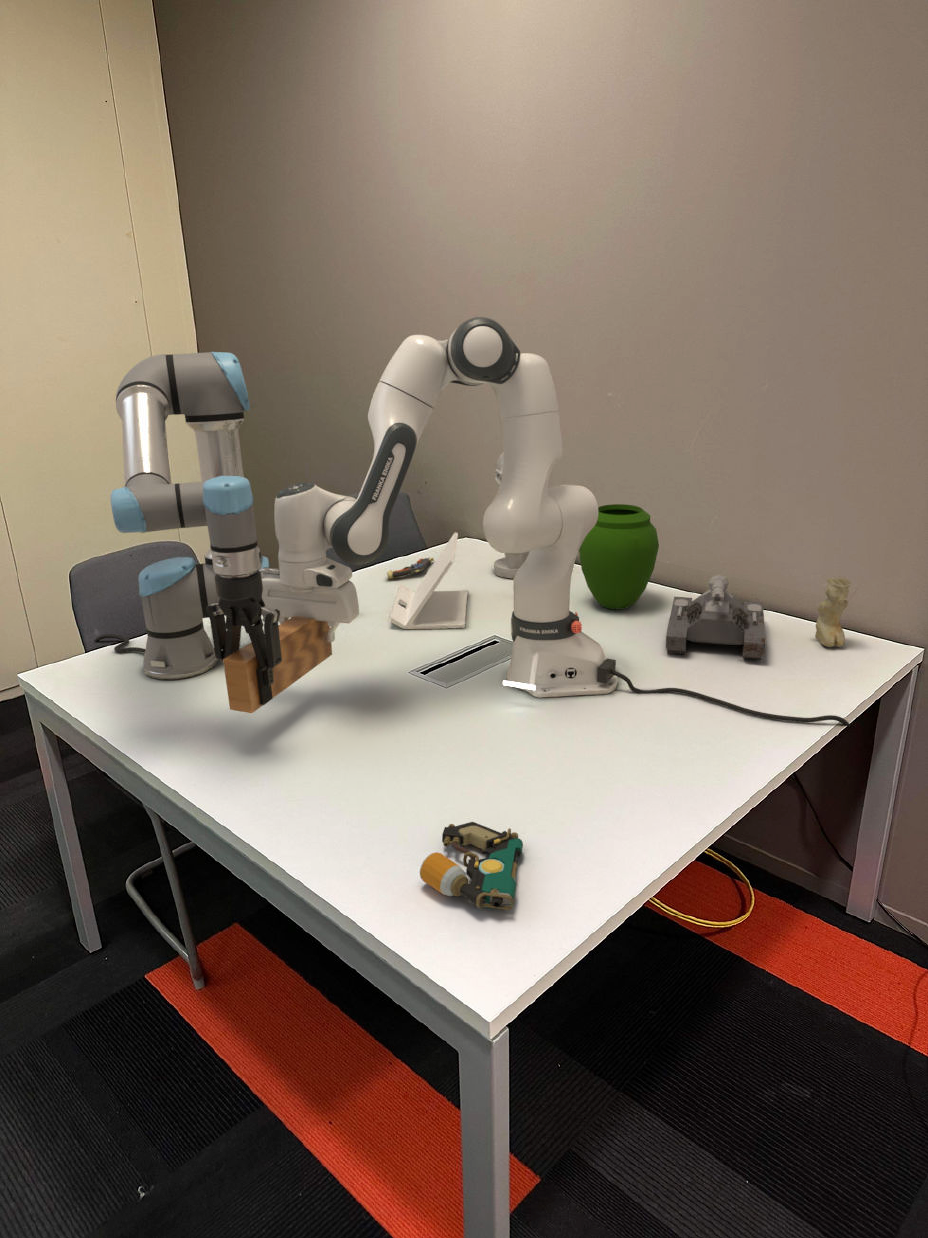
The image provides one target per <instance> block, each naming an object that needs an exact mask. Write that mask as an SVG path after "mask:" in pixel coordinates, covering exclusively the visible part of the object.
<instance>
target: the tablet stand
mask: <svg viewBox="0 0 928 1238" xmlns="http://www.w3.org/2000/svg"><path fill="white" fill-rule="evenodd" d="M458 537H459V533H458V532H456V531H455V532H453V534H452V535H451V537H450V539H449V540H448V542H447V543H446V544H445V546H444V548H443V549H442V551H441V552H440V554H439V555H438V556H437V558H436V559H435V560H434V561H433V564H432V565H431V567H430V568H429V569H428V571H427V573H426V574H425V575H424V577H423V579H422V580H421V581H420V583H419V584H418V585H417V587H416V589H415V590H412V589H410V588H409V587H407V586H406V585H403V584H400V585H399V586H398V589H397V591H396V595H395V598H394V601H393V604H392V607H391V610H390V612H389V613H390V614H389V617H388V621H389V622H391V623H392V624H394V625H396V626H398V627H399V628H401V629H402V630H426V629H427V630H429V629H430V630H431V629H435V630H436V629H437V630H438V629H464V628H465V627H466V618H467V617H466V616H467V605H468V591H467V590H436V589H437V587H438V585H440V582H441V581H442V580H443V578H444V577H445V575H446V574H447V573H448V571H449V570H450V569H451V567H452V566H453V564H454V562H455V558H456V553H457V545H458ZM399 603H400V604H399ZM402 605H403V606H405V607H403V606H402Z"/></svg>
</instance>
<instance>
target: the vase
mask: <svg viewBox="0 0 928 1238" xmlns="http://www.w3.org/2000/svg"><path fill="white" fill-rule="evenodd" d="M659 543H660V542H659V537H658V531H657V528H656V527H655V526H654V524H653V523H652V522H651V515H650V514H649V512H647V511H645V510H644V509H643V508H642V507H641V506H638V505H633V504H622V503H621V504H619V503H616V504H615V503H614V504H604V505H601V506H598V519H597V522H596V524H595V526H594V527H593V528H592V530H591V531H590V532H589V533H588V534H587V536H586V537H585V539H584V541H583V543H582V545H581V547H580V549H579V552H578V554H579V562H580V569H581V571H582V574H583V577H584V580H585V583H586V585H587V588H588V590H589V591H590V594H592V597H593V598H594V600H595V601H596V602H597V603H598V604H599V605H600V606H602V607H604V608H606V609H609V610H625V609H628V608H630V607H632V606H634V604H636V602H638V601H639V599H640V597H641V596H642V595H643V593H644V592H645V590H646V588H647V586H648V584H649V581H650V579H651V577H652V574H653V572H654V570H655V566H656V562H657V557H658V552H659V548H660V544H659Z"/></svg>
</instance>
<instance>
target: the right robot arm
mask: <svg viewBox="0 0 928 1238" xmlns="http://www.w3.org/2000/svg"><path fill="white" fill-rule="evenodd" d="M550 368H551V367H550V366H549V364H548V362H547V360H546V359H545V358H544V357H542V356H541V355H538V354H536V353H531V352H530V353H529V352H523V353H521V350H520V349H519V347H518V346H517V345H516V343H515V342H514V341H513V339H512V337H511V336H510V335H509V332H507V331H506V329H505V328H504V327H503V326H502V325H501V324H500V323H499V322H497V321H496V320H495V319H492V318H490V317H486V316H476V317H471V318H469V319H467V320H465V321H463V322H462V323H461V324H459V326H458V327H456V328H455V330H453V332H452V333H451V335H450V336H449V337H448V338H447V339H444V340H437V339H435V338H434V337H431V336H429V335H424V334H412V335H409V336H408V337H406V338H405V339H404V340H403V341H402V342H401V344H400V345H399V347H398V348H397V349H396V350H395V352H394V354H393V355H392V357H391V358H390V360H389V362H388V363H387V365H386V367H385V368H384V371H383V373H382V374H381V376H380V379H379V381H378V383H377V385H376V387H375V389H374V392H373V395H372V398H371V400H370V404H369V408H368V413H367V421H368V424H369V427H370V430H371V435H372V438H373V446H374V447H373V448H374V449H373V456H372V461H371V463H370V465H369V468H368V471H367V474H366V476H365V479H364V481H363V483H362V486H361V488H360V490H359V493H358V495H357V498H355V497H353V496H349V495H342V494H337V493H333V492H331V491H328V490H326V489H324V488H321V487H319V486H318V485H317V484H315V483H314V482H297V483H294V484H291V485H288V486H285V487H284V488H282V489H280V491H278V493H277V494H276V496H275V498H274V505H273V506H274V508H273V509H274V510H273V511H274V513H273V515H274V517H273V519H274V531H275V538H276V539H277V542H278V553H277V559H278V568H276V567H275V568H274V567H273V568H271V567H269V568H262V569H261V570H259V571H260V572H261V576H262V585H263V592H262V599H263V601H264V603H265V607H267V608H269V609H271V610H275V609H278V610H279V611H280V616H279V621H278V624H279V625H280V624H282V623H283V622H285V621H287V620H288V619H290V618H292V617H293V616H295V617H306V618H315V620H318V621H327V622H328V626H330V629H329V631H326V633H324V641H325V642H331V643H333V642H335V640H336V633H335V632H336V630H337V628H338V627H339V625H340V624H351V623H352V622H354V621H355V620H356V619H357V618H358V616H359V614H360V608H359V607H360V606H359V605H360V604H359V597H358V592H357V589H356V586H355V584H354V582H353V581H351V578H352V577H353V570H352V569H351V567H350V566H348V565H344V564H343V563H340V562H337V561H335V560H333V559H331V558H329V557H327V550H329V549H333V551H334V553H335V554H336V556H337V557H338V558H339V559H340V560H341V561H343V562H345V563H347V564H350V565H355V566H362V565H367V564H369V563H371V562H373V561H375V560H377V558H379V557H380V556H381V555H382V554H383V553H384V550H385V549H386V548H387V545H388V541H389V532H390V531H389V529H390V518H391V515H392V511H393V508H394V505H395V503H396V501H397V498H398V496H399V493H400V490H401V488H402V486H403V483H404V480H405V478H406V476H407V473H408V470H409V468H410V465H411V462H412V459H413V457H414V453H415V451H416V448H417V446H418V444H419V441H420V438H421V437H422V435H423V432H424V431H425V428H426V426H427V423H428V422H429V420H430V418H431V416H432V413H433V412H434V409H435V407H436V404H437V403H438V401H439V398H440V396H441V395H442V393H443V391H444V390H445V388H446V387H447V386H448V384H450V383H452V384H456V385H462V386H467V387H477V386H481V385H487V386H489V387H490V388H491V389H492V391H493V392H494V394H495V397H496V400H497V403H498V415H499V419H500V420H499V423H500V430H501V439H502V453H504V466H503V474H502V479H501V483H500V486H498V490H497V492H496V494H495V496H494V498H493V499H492V501H491V503H490V504H489V505H488V506H487V508H486V510H485V511H484V515H483V518H482V531H483V535H484V537H485V540H486V542H487V543H488V545H489V546H490V547H491V549H493V550H495V551H496V552H497V553H501V554H505V553H524V552H528V551H530V552H529V554H528V557H527V558H526V560H525V562H524V563H523V564H522V565H521V566H520V567H519V569H518V570H517V572H516V574H515V576H514V578H513V611H512V612H511V618H510V635H511V640H512V645H511V646H512V647H511V655H510V660H509V665H508V669H507V672H506V675H505V678H506V680H503V681H502V685H503V686H507V687H508V686H509V687H514V688H517V689H519V690H522V691H525V692H527V693H529V694H530V695H531V696H533V697H535V698H556V697H572V696H573V697H574V696H588V695H589V696H590V695H591V696H592V695H607V694H611V693H612V692H613V691H615V690H616V688H617V686H618V678H619V679H621V680H623V682H626V684H627V686H628V688H629V690H630V691H632V692H633V693H636V694H642V695H643V694H644V695H645V694H665V693H678V694H684V695H689V696H692V697H694V698H695V697H696V698H699V699H702V700H705V701H707V702H711V703H714V704H717V705H721V706H724V707H727V708H729V709H732V710H735V711H738V712H741V713H744V714H748V715H751V716H756V717H761V718H765V719H771V720H778V721H787V722H796V723H817V722H824V721H835V722H838V723H840V724H842V725H843V726H844V727H851V724H850V722H848V720H846V719H845V718H843V717H842V716H839V715H833V714H828V715H821V716H814V717H813V716H812V717H801V716H789V715H780V714H775V713H767V712H762V711H758V710H753V709H750V708H746V707H743V706H740V705H736V704H734V703H731V702H728V701H725V700H722V699H719V698H716V697H713V696H709V695H706V694H704V693H703V694H702V693H699V692H696V691H693V690H688V689H684V688H679V687H663V688H656V689H640V688H637V687H635V686H634V684H633V682H632V680H631V679H630V678H629V677H627V676H626V675H624V674H623V673H621V672H619V671H617V668H616V667H617V666H616V665H617V660H616V659H613V658H609V657H608V658H606V654H605V651H604V648H603V647H602V645H601V644H600V643H599V642H598V641H596V640H595V639H593V638H591V637H590V636H589V635H587V634H586V633H585V632H583V631H582V630H583V626H582V625H583V624H582V622H581V621H580V616H579V615H578V612H577V611H575V613H574V612H573V611H571V610H570V600H571V581H572V574H573V570H574V565H575V563H576V560H577V557H578V554H579V549H580V547H581V545H582V543H583V541H584V539H585V537H586V536H587V534H588V533H589V532H590V531H591V530H592V528H593V527H594V526H595V524H596V522H597V519H598V507H599V505H598V501H597V499H596V496H595V495H594V494H593V492H592V491H591V490H590V489H588V488H587V487H586V486H583V485H576V484H558V485H554V486H549V479H550V475H551V473H552V471H553V468H554V467H555V465H557V463H558V462H559V461H560V460H561V458H562V456H563V453H564V445H563V436H562V428H561V419H560V418H561V417H560V411H559V410H560V409H559V403H558V396H557V392H556V386H555V382H554V379H553V375H552V372H551V369H550Z"/></svg>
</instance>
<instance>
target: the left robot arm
mask: <svg viewBox="0 0 928 1238" xmlns="http://www.w3.org/2000/svg"><path fill="white" fill-rule="evenodd" d="M247 388H248V387H247V385H246V381H245V377H244V374H243V370H242V366H241V363H240V360H239V358H238V357H237V356H236V355H235V354H234V353H233V352H227V351H225V352H223V351H210V352H209V351H208V352H207V351H206V352H191V353H189V352H188V353H172V354H155V355H152V356H149V357H147V358H145V359H143V360H140V362H138V363H136V364H135V365H134V366H133V367H131V369H130V370H128V372H126V374H125V375H124V377H122V380H121V381H120V383H119V385H118V388H117V390H116V394H115V410H116V412H117V413H116V414H117V415H118V417H119V419H121V423H122V424H121V425H122V449H123V450H122V452H123V454H122V455H123V477H124V479H123V480H124V481H123V482H124V486H122V487H121V488H115V489H113V490H112V491H111V493H110V506H111V513H112V519H113V523H114V526H115V528H116V530H117V531H118V532H120V533H122V534H131V533H140V534H145V533H151V532H158V531H159V532H160V531H169V530H177V529H178V530H179V529H188V528H189V529H190V528H199V527H200V528H201V527H207V531H208V538H209V546H210V547H209V548H208V549H207V551H206V552H205V553H204V556H203V557H204V562H203V563H197V564H196V561H195V560H194V558H193V557H191V556H176V557H175V556H174V557H171V558H166V559H161V560H159V561H157V562H154V563H151V564H150V565H147V566H146V567H145V568H142V570H141V571H140V572H139V575H138V587H139V592H138V594H139V597H140V598H141V599H140V600H141V606H142V611H143V617H144V624H145V628H146V630H145V631H146V634H147V636H146V637H147V639H146V644H145V648H142V647H139V646H138V647H135V646H130V647H125V646H127V645H128V644H130V639H129V638H127V637H126V636H123V635H121V634H116V633H115V634H114V633H105V634H101V635H98V636H97V637H96V638H95V639H94V641H93V642H94V643H99V642H100V641H102V640H104V639H116V640H121V641H123V642H121V643H119V644H117V645H115V646H114V649H113V650H114V651H115V652H116V653H128V652H136V653H143V654H144V655H143V663H142V665H143V671H144V674H145V675H146V676H148V677H150V678H152V679H157V680H166V681H167V680H168V681H170V680H180V679H186V678H187V679H188V678H192V677H195V676H198V675H201V674H204V673H206V672H208V671H210V670H211V669H213V668H215V666H216V665H217V663H218V661H223V659H225V658H226V657H228V656H230V655H231V654H233V653H234V652H236V651H238V650H239V649H241V648H240V647H241V637H242V636H241V635H242V627H243V628H244V631H245V633H246V634H248V635H249V640H250V643H252V646H253V649H254V652H255V655H256V658H257V661H258V664H259V668H258V669H257V670H256V674H257V682H258V690H259V698H260V705H263V706H265V705H266V704H268V703H269V702H271V700H272V701H273V700H274V698H273V696H272V688H271V685H272V684H273V683H274V677H273V667H275V666H276V665H278V664H279V663H281V662H282V655H281V645H280V636H279V616H280V611H279V610H278V609H275V610H271V609H269V608H267V607H265V603H264V601H263V599H262V592H263V585H262V576H261V572H260V571H259V570H261V569H262V568H270V563H269V562H270V561H269V558H268V557H266V556H264V555H262V554H261V549H260V548H259V545H258V539H257V528H256V518H255V517H256V516H255V510H254V509H255V507H254V495H253V491H252V488H251V483H250V481H249V479H248V478H246V477H245V475H244V468H243V459H242V458H243V457H242V451H241V443H240V435H239V428H240V427H241V425H242V424H243V423H244V421H245V413H244V412H248V411H249V410H250V409H251V402H250V399H249V393H248V389H247ZM171 415H174V416H175V415H176V416H177V415H184V420H185V424H186V425H187V427H189V428H190V429H192V430H193V432H194V435H195V436H194V437H195V443H196V451H197V458H198V464H199V471H200V473H199V474H200V478H201V479H200V480H201V481H193V482H192V481H191V482H182V483H179V482H178V483H172V481H171V471H170V470H171V469H170V460H169V450H168V439H167V438H168V437H167V428H166V420H167V419H168V418H169V416H171ZM208 618H209V622H210V630H211V635H212V641H211V639H210V637H209V636H208V633H207V632H206V630H205V626H204V619H208ZM212 642H213V643H212Z"/></svg>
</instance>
